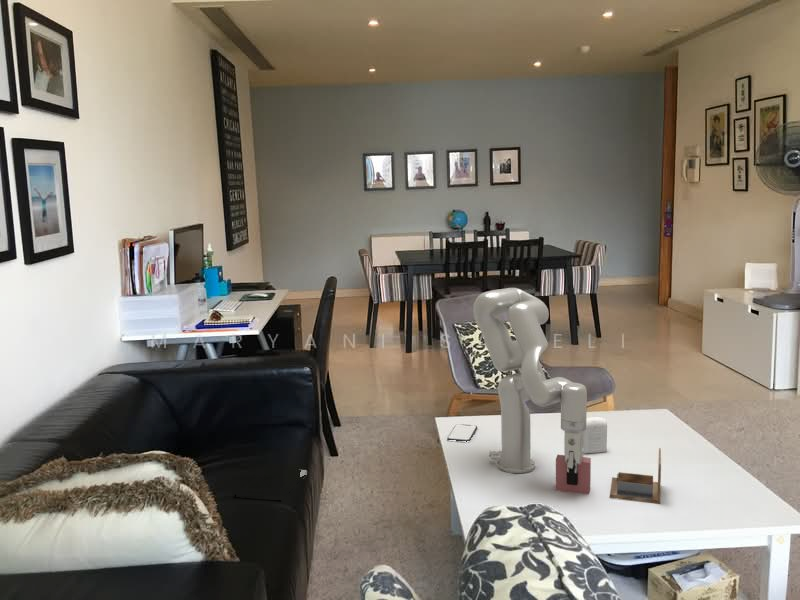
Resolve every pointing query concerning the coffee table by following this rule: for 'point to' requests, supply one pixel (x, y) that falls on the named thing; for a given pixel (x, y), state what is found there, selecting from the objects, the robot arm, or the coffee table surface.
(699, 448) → the coffee table surface
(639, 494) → the bookend
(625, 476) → the shelf
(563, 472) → the book
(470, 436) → the phone case
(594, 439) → the photo printer
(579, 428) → the robot arm
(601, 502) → the coffee table surface
